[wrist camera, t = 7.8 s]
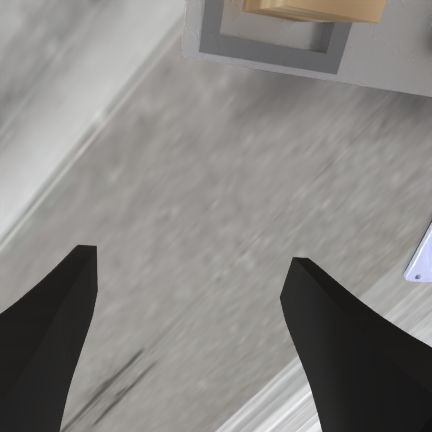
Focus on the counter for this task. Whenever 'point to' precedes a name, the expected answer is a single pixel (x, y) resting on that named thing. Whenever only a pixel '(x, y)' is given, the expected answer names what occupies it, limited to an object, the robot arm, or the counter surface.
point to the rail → (318, 44)
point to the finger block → (318, 10)
